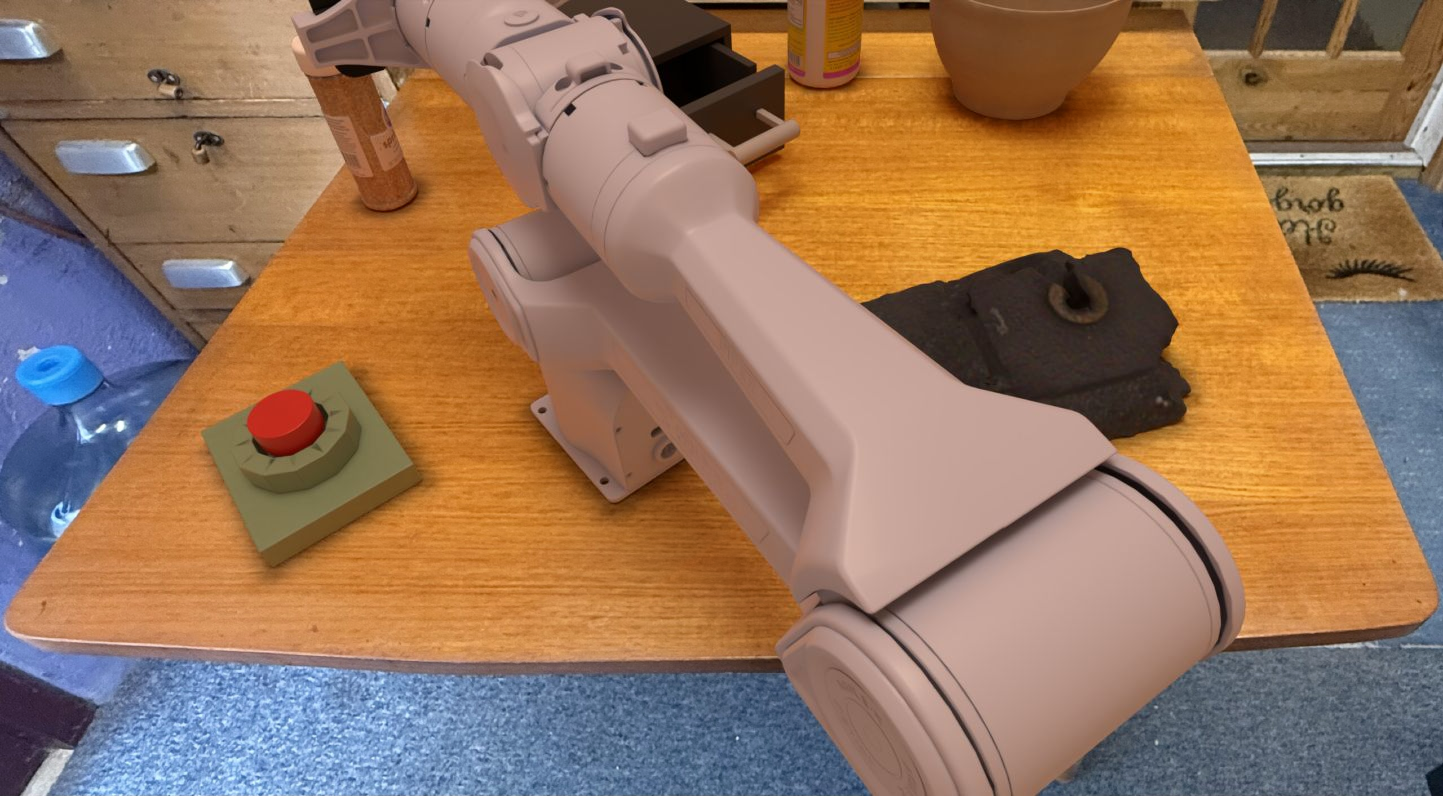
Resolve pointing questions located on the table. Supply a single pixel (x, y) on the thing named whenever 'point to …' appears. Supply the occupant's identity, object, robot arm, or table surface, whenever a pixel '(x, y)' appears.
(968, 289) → the black stepped slab
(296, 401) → the button
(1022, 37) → the planter bowl
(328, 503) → the control block
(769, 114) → the drawer
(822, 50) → the supplement bottle
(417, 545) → the table surface
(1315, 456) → the table surface
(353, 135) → the sprinkles bottle
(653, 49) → the cabinet
